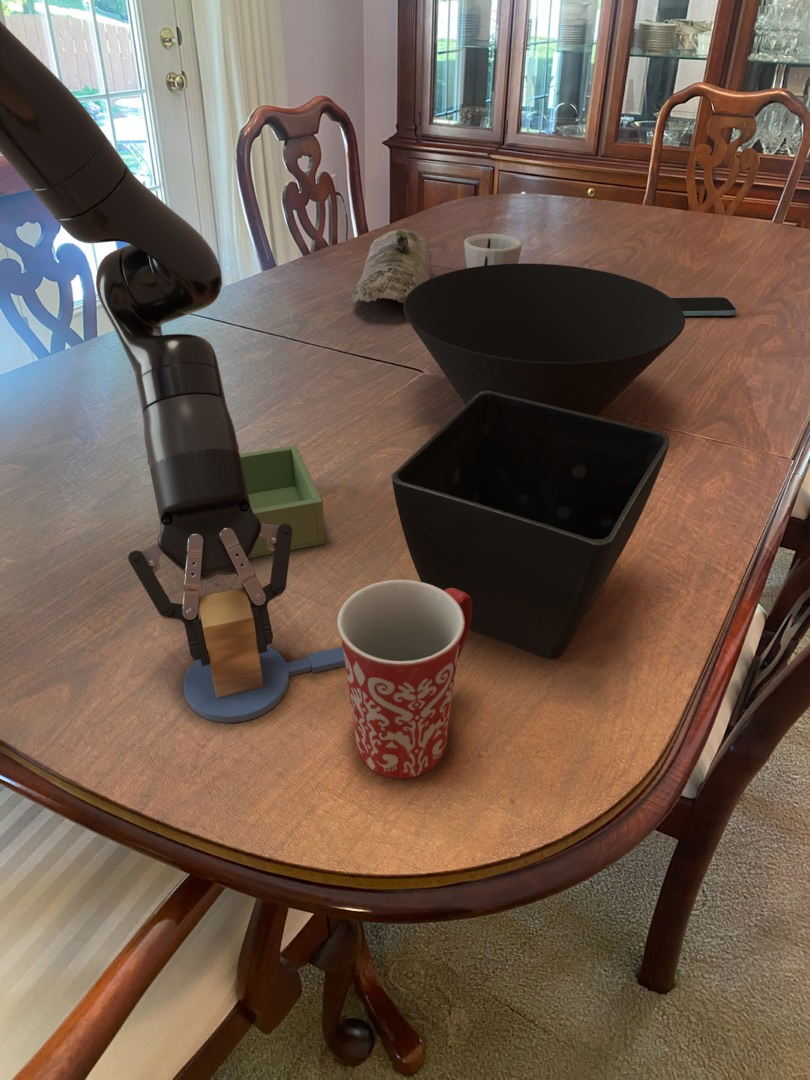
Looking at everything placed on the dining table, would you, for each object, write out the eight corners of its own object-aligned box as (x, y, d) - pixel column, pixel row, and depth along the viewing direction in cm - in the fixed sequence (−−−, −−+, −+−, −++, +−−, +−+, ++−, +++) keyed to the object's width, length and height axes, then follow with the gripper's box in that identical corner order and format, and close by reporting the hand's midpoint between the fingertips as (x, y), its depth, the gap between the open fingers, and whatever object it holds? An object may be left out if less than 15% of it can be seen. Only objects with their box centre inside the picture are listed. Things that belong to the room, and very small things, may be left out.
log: (349, 273, 133) (365, 204, 155) (347, 336, 141) (362, 262, 163) (433, 281, 133) (437, 212, 155) (426, 344, 141) (430, 269, 163)
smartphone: (642, 297, 148) (726, 296, 147) (642, 303, 148) (725, 302, 148) (651, 312, 142) (738, 310, 141) (650, 318, 143) (737, 316, 142)
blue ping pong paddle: (191, 734, 66) (189, 727, 66) (179, 660, 73) (178, 654, 73) (400, 683, 71) (400, 677, 71) (371, 618, 78) (370, 612, 78)
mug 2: (462, 305, 147) (464, 249, 141) (460, 279, 159) (463, 226, 153) (520, 306, 147) (525, 250, 141) (514, 279, 159) (518, 226, 153)
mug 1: (405, 811, 60) (406, 683, 53) (321, 747, 65) (310, 620, 57) (506, 715, 68) (519, 590, 60) (424, 664, 73) (426, 542, 65)
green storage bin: (207, 566, 85) (199, 523, 81) (193, 503, 94) (185, 462, 91) (325, 543, 88) (322, 501, 85) (299, 485, 97) (296, 444, 94)
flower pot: (580, 701, 69) (609, 542, 59) (388, 628, 77) (385, 476, 67) (642, 579, 83) (674, 433, 73) (473, 528, 90) (482, 388, 80)
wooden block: (216, 698, 69) (202, 627, 64) (210, 666, 72) (196, 596, 67) (263, 687, 70) (253, 617, 65) (255, 656, 73) (245, 586, 68)
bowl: (514, 510, 93) (525, 390, 84) (355, 395, 117) (352, 292, 108) (719, 429, 109) (746, 320, 100) (542, 342, 133) (552, 249, 124)
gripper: (101, 461, 63) (141, 678, 61) (281, 433, 67) (325, 637, 65) (112, 484, 71) (149, 679, 68) (274, 458, 74) (314, 642, 72)
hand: (234, 657), depth 67 cm, fingers closed on wooden block, 4 cm apart
